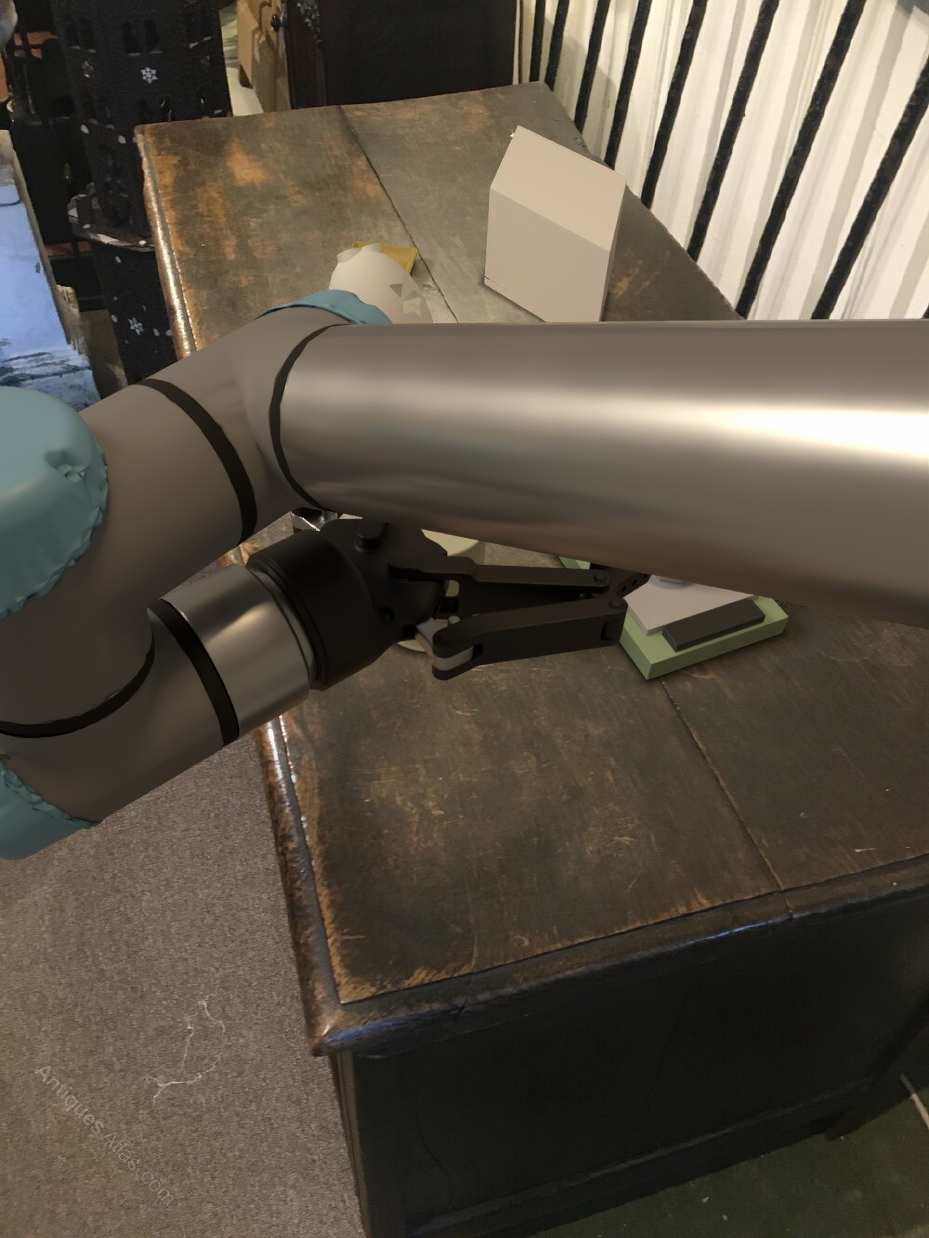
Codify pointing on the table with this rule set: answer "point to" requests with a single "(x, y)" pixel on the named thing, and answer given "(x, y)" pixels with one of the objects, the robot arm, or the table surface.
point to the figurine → (381, 284)
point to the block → (553, 229)
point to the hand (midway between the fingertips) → (592, 463)
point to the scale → (690, 623)
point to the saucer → (395, 253)
